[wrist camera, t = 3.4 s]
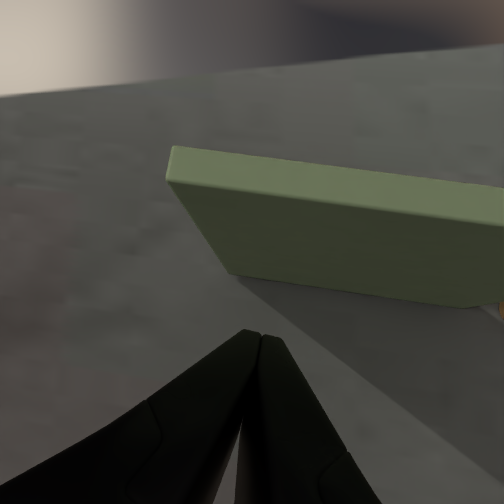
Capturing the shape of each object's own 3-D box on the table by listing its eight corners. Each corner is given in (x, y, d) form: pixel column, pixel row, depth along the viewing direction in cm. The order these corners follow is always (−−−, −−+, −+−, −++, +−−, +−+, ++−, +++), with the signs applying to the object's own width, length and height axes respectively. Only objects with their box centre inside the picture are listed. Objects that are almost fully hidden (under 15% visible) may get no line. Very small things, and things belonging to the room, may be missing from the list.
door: (464, 291, 21) (750, 217, 8) (463, 309, 21) (751, 260, 8) (230, 257, 22) (171, 143, 9) (227, 273, 22) (163, 180, 9)
